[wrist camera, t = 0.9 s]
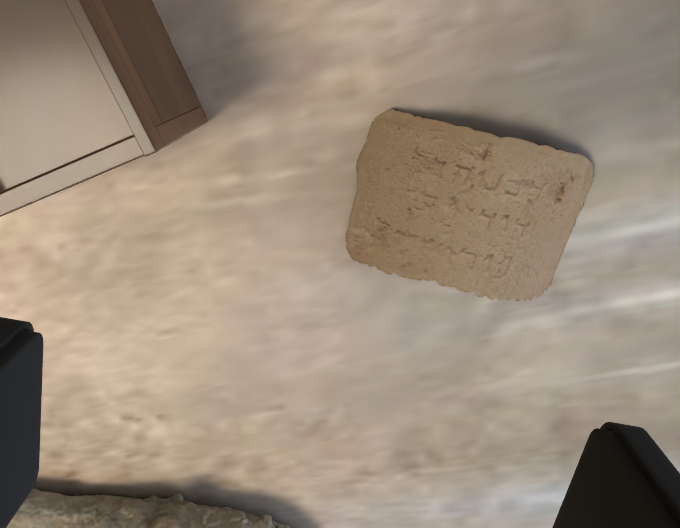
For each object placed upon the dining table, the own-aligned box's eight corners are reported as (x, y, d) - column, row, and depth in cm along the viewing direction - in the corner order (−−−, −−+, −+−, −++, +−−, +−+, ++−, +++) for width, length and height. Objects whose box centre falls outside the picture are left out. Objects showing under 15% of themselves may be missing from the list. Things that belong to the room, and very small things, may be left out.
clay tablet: (340, 254, 40) (340, 268, 38) (378, 101, 37) (382, 105, 35) (546, 299, 42) (559, 316, 39) (600, 155, 38) (619, 163, 36)
